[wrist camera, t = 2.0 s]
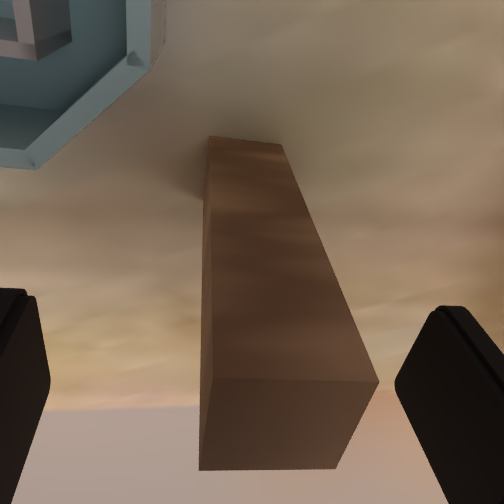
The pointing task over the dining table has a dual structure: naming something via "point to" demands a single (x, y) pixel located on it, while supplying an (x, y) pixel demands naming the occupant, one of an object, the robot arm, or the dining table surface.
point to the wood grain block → (272, 323)
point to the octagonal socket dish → (68, 68)
